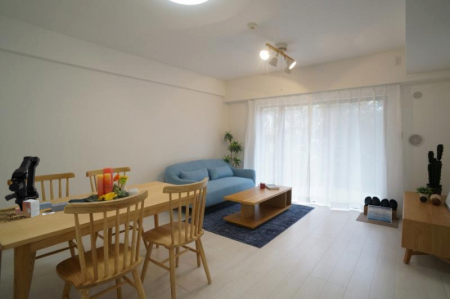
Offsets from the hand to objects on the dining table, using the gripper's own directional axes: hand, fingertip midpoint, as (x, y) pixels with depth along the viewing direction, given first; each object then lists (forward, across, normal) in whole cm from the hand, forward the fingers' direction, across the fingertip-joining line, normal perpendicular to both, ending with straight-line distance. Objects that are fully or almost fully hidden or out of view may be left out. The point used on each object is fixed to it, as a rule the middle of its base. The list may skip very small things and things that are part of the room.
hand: (22, 210), depth 162 cm
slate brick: (+2, -4, +13) cm, 14 cm away
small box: (+2, +11, +5) cm, 12 cm away
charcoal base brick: (+2, +8, +21) cm, 23 cm away
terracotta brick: (+2, 0, 0) cm, 2 cm away
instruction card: (+2, +13, +14) cm, 19 cm away
